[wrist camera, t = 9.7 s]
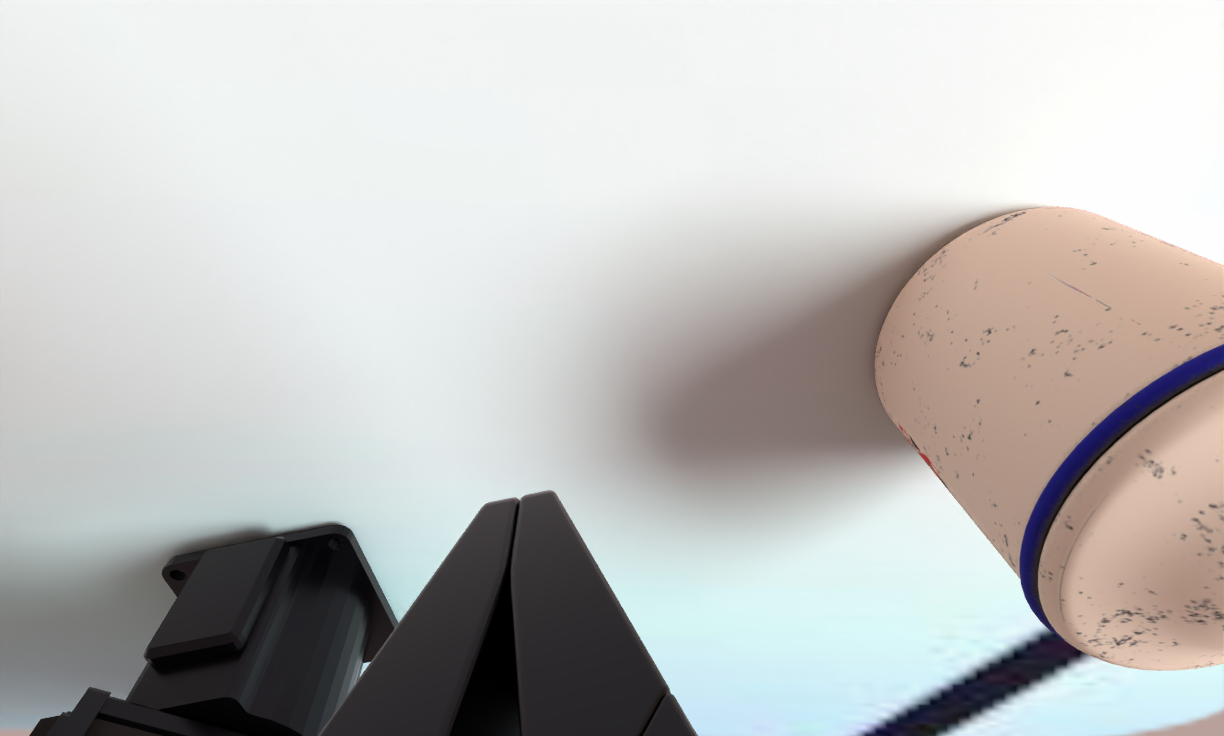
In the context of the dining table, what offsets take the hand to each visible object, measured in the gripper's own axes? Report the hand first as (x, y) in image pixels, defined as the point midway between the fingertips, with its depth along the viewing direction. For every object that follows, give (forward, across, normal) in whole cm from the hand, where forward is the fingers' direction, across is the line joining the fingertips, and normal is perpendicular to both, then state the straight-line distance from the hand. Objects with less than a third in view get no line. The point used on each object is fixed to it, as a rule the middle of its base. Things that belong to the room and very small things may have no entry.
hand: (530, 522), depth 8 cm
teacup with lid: (+12, -15, +7) cm, 21 cm away
